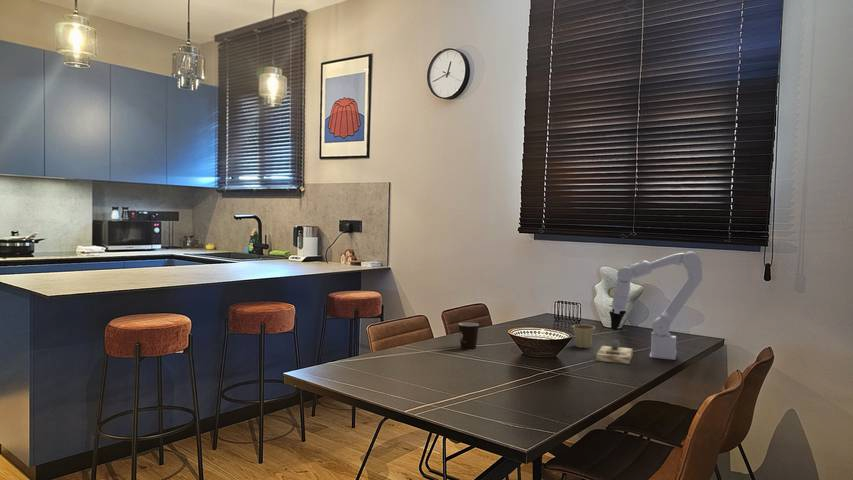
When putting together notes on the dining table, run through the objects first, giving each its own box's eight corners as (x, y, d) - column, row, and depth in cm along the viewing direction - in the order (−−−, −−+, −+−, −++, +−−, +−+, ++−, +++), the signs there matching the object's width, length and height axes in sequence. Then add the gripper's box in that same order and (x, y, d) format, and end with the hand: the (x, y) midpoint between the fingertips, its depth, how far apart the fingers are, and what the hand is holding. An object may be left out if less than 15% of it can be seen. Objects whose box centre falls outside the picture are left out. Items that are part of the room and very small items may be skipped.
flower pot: (589, 350, 245) (590, 329, 245) (568, 347, 251) (568, 326, 250) (598, 346, 252) (598, 326, 252) (577, 343, 258) (577, 323, 258)
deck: (632, 354, 238) (632, 348, 238) (629, 363, 222) (629, 357, 222) (601, 351, 243) (602, 345, 243) (596, 360, 227) (596, 354, 227)
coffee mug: (479, 350, 242) (479, 326, 242) (458, 350, 242) (458, 326, 242) (477, 344, 254) (477, 321, 254) (457, 344, 254) (457, 321, 254)
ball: (620, 348, 238) (620, 339, 238) (619, 350, 235) (619, 341, 235) (610, 347, 240) (611, 338, 239) (609, 349, 236) (610, 340, 236)
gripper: (612, 291, 248) (607, 323, 249) (608, 295, 235) (602, 328, 236) (630, 295, 245) (624, 327, 247) (627, 299, 232) (620, 333, 233)
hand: (614, 328), depth 241 cm, fingers open, 7 cm apart
